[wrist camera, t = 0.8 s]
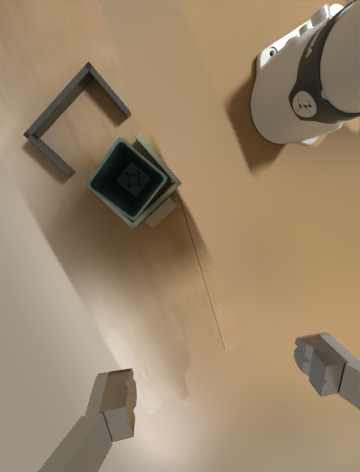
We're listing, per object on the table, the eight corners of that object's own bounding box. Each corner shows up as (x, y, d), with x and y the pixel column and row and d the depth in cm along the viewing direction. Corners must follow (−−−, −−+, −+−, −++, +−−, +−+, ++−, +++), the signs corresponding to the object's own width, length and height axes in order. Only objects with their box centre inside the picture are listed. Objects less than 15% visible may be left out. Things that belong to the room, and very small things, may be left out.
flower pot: (138, 211, 39) (134, 222, 31) (100, 183, 37) (84, 185, 28) (165, 177, 38) (169, 177, 29) (128, 144, 35) (119, 135, 27)
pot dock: (93, 70, 32) (88, 61, 29) (131, 114, 34) (129, 110, 32) (32, 137, 33) (23, 134, 31) (72, 175, 36) (66, 175, 33)
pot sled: (140, 136, 35) (137, 129, 29) (186, 190, 39) (191, 193, 33) (92, 184, 36) (80, 186, 31) (141, 232, 40) (139, 241, 35)
